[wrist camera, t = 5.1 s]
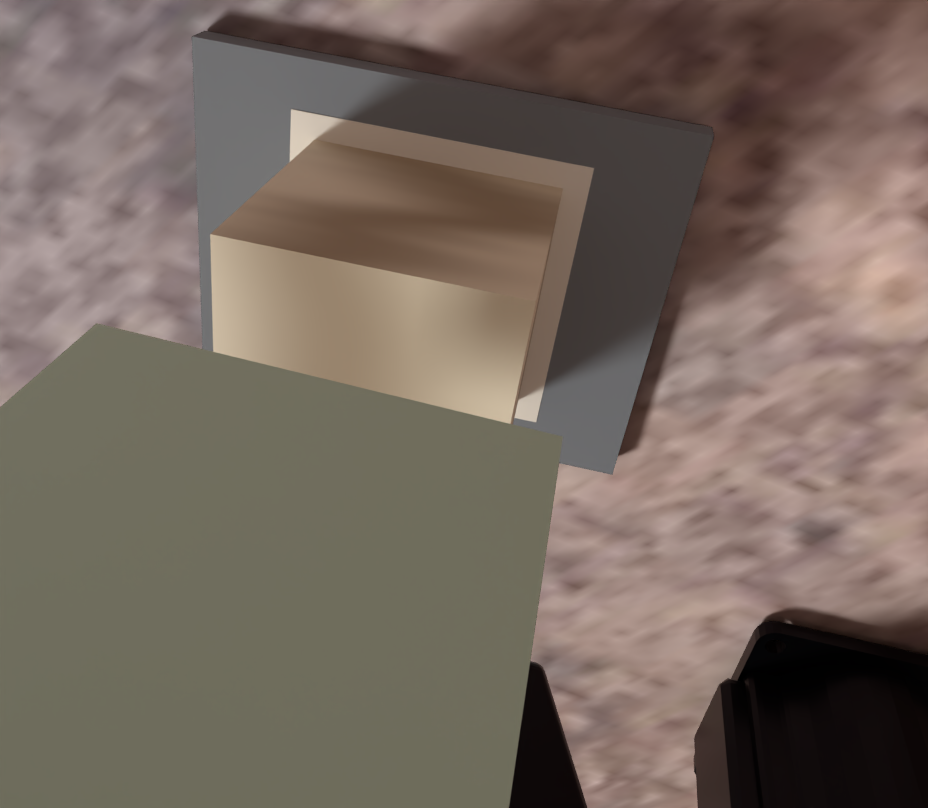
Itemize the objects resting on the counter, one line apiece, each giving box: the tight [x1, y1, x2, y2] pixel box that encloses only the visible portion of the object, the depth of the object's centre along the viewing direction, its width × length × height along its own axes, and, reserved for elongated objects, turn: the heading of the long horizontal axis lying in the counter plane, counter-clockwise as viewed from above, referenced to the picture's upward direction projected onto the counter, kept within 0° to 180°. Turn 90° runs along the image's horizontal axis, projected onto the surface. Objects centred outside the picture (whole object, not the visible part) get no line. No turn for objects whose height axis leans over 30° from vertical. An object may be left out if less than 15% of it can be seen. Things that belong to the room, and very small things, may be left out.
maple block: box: [210, 140, 563, 424], centre depth 16 cm, size 5×5×5 cm
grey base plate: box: [192, 31, 714, 474], centre depth 19 cm, size 10×8×1 cm
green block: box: [0, 324, 563, 808], centre depth 8 cm, size 5×5×5 cm
